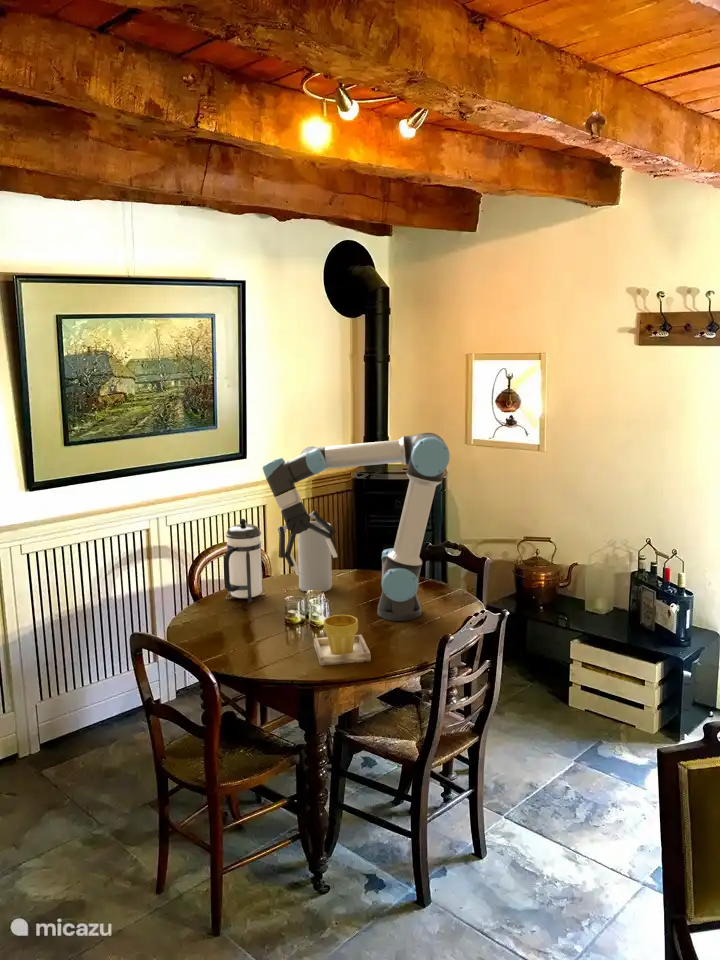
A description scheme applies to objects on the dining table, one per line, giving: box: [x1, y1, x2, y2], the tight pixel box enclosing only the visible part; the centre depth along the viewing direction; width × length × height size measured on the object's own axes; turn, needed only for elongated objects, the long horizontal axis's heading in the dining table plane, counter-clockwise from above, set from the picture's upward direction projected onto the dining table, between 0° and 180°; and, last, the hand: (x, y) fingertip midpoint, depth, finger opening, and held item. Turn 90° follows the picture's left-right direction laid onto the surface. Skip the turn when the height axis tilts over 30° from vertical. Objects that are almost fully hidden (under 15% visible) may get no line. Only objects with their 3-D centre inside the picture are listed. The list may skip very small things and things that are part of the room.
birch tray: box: [313, 634, 372, 666], centre depth 235 cm, size 15×15×2 cm
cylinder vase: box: [297, 520, 333, 593], centre depth 295 cm, size 12×12×25 cm
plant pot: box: [323, 614, 359, 655], centre depth 234 cm, size 10×10×10 cm
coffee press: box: [223, 518, 267, 604], centre depth 284 cm, size 17×16×30 cm
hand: (317, 566), depth 249 cm, fingers open, 13 cm apart
